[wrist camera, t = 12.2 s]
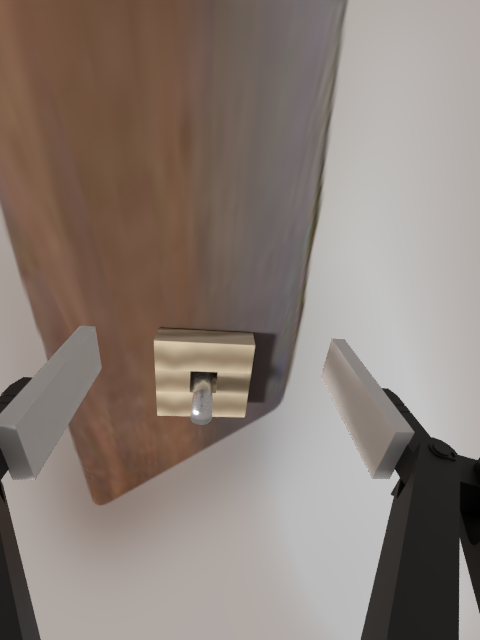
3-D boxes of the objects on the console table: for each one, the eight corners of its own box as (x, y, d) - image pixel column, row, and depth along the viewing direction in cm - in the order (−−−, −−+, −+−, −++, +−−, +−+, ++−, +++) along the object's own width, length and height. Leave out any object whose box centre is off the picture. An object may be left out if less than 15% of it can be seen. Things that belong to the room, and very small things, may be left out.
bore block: (158, 327, 47) (153, 340, 44) (252, 332, 49) (255, 345, 45) (161, 399, 54) (157, 415, 51) (243, 401, 56) (244, 417, 53)
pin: (195, 363, 50) (190, 408, 40) (213, 363, 50) (212, 409, 41) (195, 377, 52) (190, 424, 42) (212, 377, 52) (211, 424, 42)
